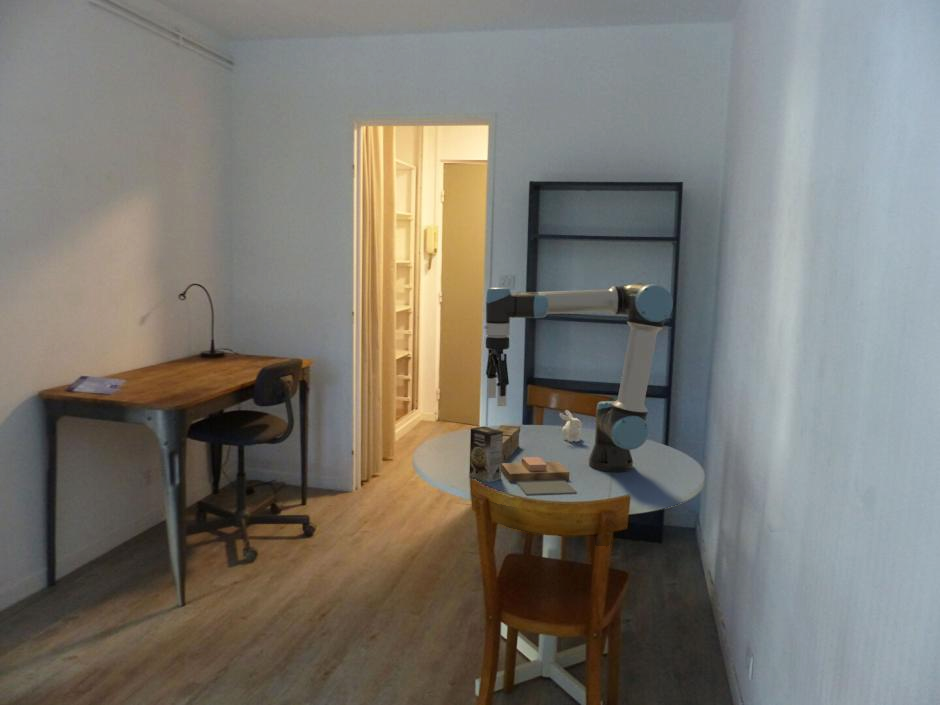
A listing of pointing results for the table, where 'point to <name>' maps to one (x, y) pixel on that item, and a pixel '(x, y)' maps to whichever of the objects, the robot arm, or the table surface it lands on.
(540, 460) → the salmon orange flat block
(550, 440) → the table surface
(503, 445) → the block tower
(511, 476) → the brown wooden board
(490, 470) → the coffee box
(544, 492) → the mat
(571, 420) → the rabbit
